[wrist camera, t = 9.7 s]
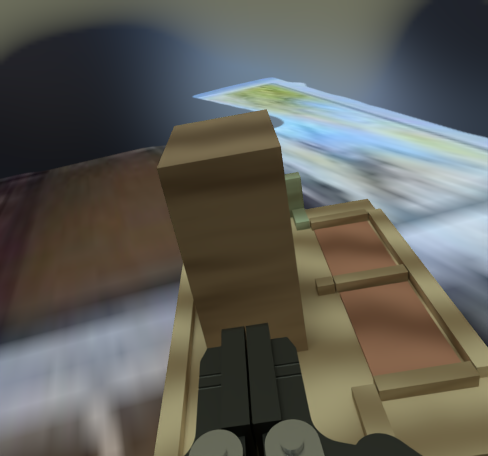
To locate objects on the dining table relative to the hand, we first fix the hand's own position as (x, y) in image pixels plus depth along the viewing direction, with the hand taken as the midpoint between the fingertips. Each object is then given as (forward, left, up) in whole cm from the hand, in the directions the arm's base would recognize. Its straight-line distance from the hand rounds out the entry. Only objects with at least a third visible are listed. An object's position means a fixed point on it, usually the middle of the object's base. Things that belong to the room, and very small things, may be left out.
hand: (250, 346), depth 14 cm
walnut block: (-8, +11, -10) cm, 17 cm away
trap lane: (-6, +14, -11) cm, 19 cm away
